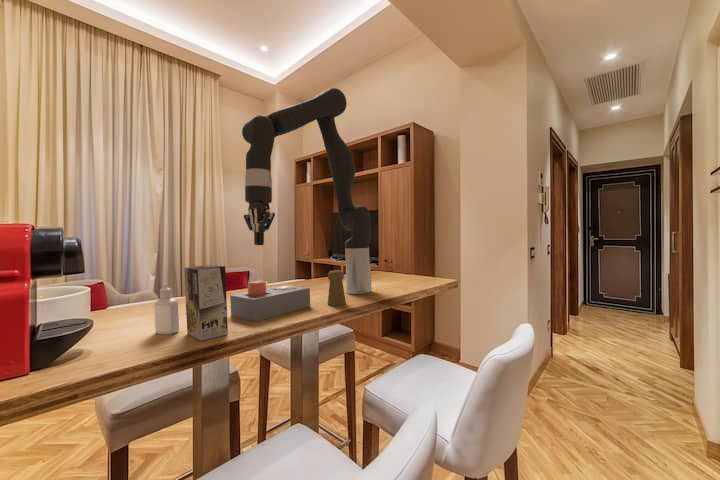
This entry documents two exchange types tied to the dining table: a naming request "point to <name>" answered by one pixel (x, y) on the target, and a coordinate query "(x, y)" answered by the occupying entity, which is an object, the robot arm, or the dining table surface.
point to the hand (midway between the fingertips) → (259, 245)
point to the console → (269, 303)
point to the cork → (336, 288)
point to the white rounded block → (284, 288)
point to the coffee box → (206, 301)
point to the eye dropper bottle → (166, 313)
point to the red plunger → (256, 288)
